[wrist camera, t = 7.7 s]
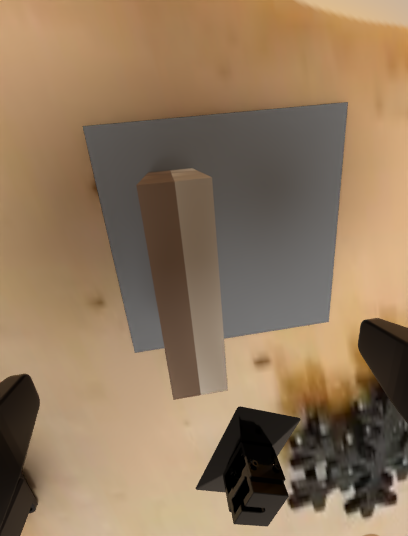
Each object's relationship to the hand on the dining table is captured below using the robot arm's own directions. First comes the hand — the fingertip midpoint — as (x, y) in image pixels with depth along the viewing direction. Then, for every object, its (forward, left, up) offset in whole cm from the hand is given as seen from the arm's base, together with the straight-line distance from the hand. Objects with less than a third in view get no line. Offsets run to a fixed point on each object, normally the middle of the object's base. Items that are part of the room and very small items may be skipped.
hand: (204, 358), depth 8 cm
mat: (+3, 0, -11) cm, 11 cm away
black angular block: (+3, -21, -11) cm, 24 cm away
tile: (0, 0, -10) cm, 10 cm away
